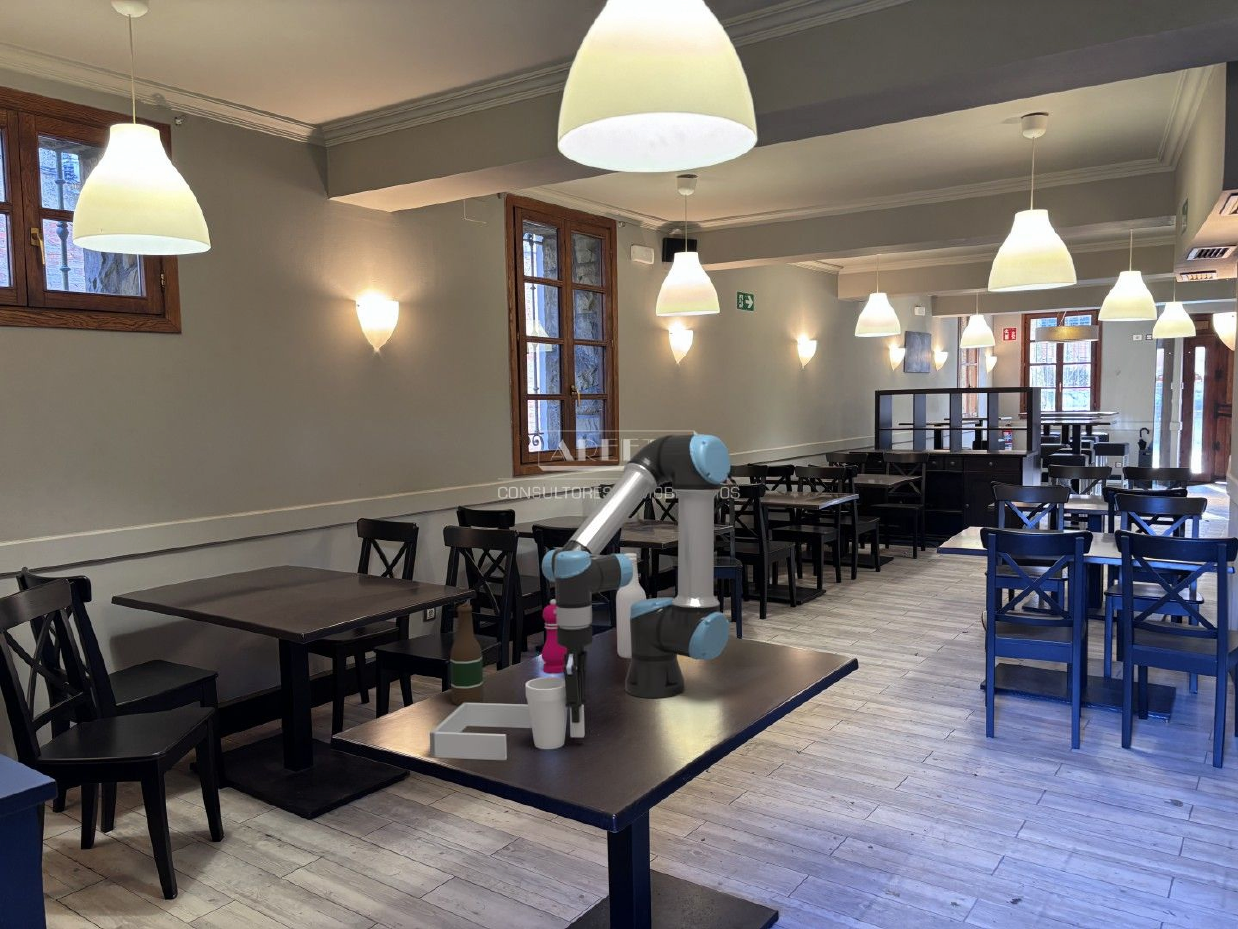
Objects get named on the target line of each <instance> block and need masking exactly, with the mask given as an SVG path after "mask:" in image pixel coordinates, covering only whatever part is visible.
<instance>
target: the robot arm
mask: <svg viewBox="0 0 1238 929" xmlns="http://www.w3.org/2000/svg"><path fill="white" fill-rule="evenodd" d="M728 450H729V449H728V448H727V446H726V445H725V444H724V442H723V441H722V439H720V438H719V437H717V436H715V435H711V434H701V433H700V434H698V433H697V434H680V435H679V434H676V435H673V434H667V435H663V436H660V437H658V438H655V439H653V440H652V441H651V442H649V443H648V444H646V445H645V446H643V447H642V448H641V449H640V450H639V451H638V452H636V453H635V454H634V455H633V456H632V457H631V458H630V460H629V461H628V462H627V463H626V464H625V466H624V467H623V475H622V476H620V478H619V479H618V480H617V482H616V483H615V484H614V485H613V486H612V487H611V489H610V490H609V491H608V492H607V494H605V496H604V497H603V498H602V500H601V501H600V502H599V503H598V504H597V506H596V507H595V508H594V509H593V510H592V511H591V513H590V514H589V516H588V517H587V518H586V519H585V520H584V521H583V523H582V524H581V525H580V526H579V528H577V529H576V531H575V532H574V534H573V535H572V536H571V537H570V538H569V540H568V541H567V542H566V543H565V544H564V546H562V548H561V549H559V548H557V549H552V550H549V551H548V552H546V554H544V556H543V558H542V562H541V570H542V574H543V576H544V577H545V578H546V579H547V580H548V581H549V582H553V583H554V592H555V600H556V609H555V610H554V611H553V612H554V614H557V616H556V622H557V624H558V625H559V626H558V627H557V629H556V630H557V643H558V645H560V646H564V647H566V649H567V650H566V654H564V663H565V664H566V665H563V672H562V673H563V675H564V678H565V687H566V698H567V704H566V707H568V708H569V725H570V726H569V728H570V729H569V730H570V734H569V735H570V738H584V737H585V731H586V730H585V712H584V711H585V707H584V706H585V705H586V704H588V699H585V698H586V697H587V695H586V693H587V692H586V690H587V684H586V683H587V681H586V680H587V658H588V656H587V655H588V652H587V650H584V649H585V648H584V647H587V646H589V645H591V644H592V643H593V626H592V625H591V624H592V622H593V608H592V607H593V606H592V605H593V604H592V594H597V593H602V592H607V591H610V590H619V588H621V587H624V586H626V585H628V584H629V583H630V582H631V580H632V577H633V566H632V563H631V561H630V559H629V558H628V557H627V556H625V555H624V554H625V553H610V554H606V555H605V554H600V553H601V552H602V551H603V550H604V548H605V547H607V545H608V544H609V542H611V539H613V537H614V536H615V535H616V533H617V532H618V531H619V530H620V528H621V527H622V526H623V524H624V523H625V522H626V521H627V519H628V518H629V517H630V516H631V515H632V514H633V512H634V511H635V510H636V509H637V507H638V506H639V504H640V503H641V502H642V501H643V499H645V497H646V496H647V494H653V493H654V492H655V491H656V490H657V488H658V487H659V486H660V485H662V484H666V483H671V484H672V485H671V486H672V488H671V489H672V491H673V493H674V494H675V495H676V496H677V497H678V510H677V511H678V518H677V519H678V525H677V526H678V530H677V531H678V532H677V534H678V535H677V536H678V538H677V541H678V543H677V545H678V546H677V547H678V549H677V550H678V551H677V552H678V553H677V554H678V555H677V556H678V557H677V560H678V561H677V568H678V569H677V596H676V597H675V598H674V597H669V596H668V597H656V598H653V597H652V598H648V599H647V598H646V600H641V601H637V602H635V603H633V604H632V606H631V612H630V633H631V658H630V659H631V661H630V664H629V667H628V670H627V674H626V677H625V681H624V683H625V686H624V687H625V689H624V690H625V692H626V693H628V694H629V695H631V696H634V697H639V698H647V699H649V698H650V699H659V698H668V697H674V696H677V695H680V694H681V693H683V692H684V691H685V689H686V688H685V678H684V675H683V673H682V670H681V667H680V666H681V665H680V663H679V661H678V656H682V657H686V658H687V657H688V658H691V659H693V660H704V661H711V660H713V659H715V658H717V657H718V656H719V655H721V653H722V652H723V651H724V649H725V647H726V646H727V644H728V641H729V637H730V630H731V628H730V627H731V626H730V621H729V620H728V618H727V615H725V614H723V613H722V612H721V611H720V609H721V608H720V606H721V605H720V601H719V600H718V598H716V597H715V596H714V569H715V568H714V565H715V564H714V561H715V560H714V558H715V556H714V550H715V549H714V548H715V547H714V542H715V540H714V538H715V536H714V534H715V533H714V532H715V531H714V529H715V528H714V527H715V526H714V523H715V522H714V521H715V515H714V514H715V513H714V512H715V497H716V496H717V494H718V493H719V492H720V491H721V484H722V483H723V482H725V481H726V480H727V479H728V475H729V474H730V472H731V464H732V463H731V457H730V454H729V451H728ZM584 704H585V705H584Z"/></svg>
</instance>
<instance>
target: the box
mask: <svg viewBox="0 0 1238 929" xmlns="http://www.w3.org/2000/svg"><path fill="white" fill-rule="evenodd" d="M467 727H491V728H516V729H522V728H523V729H532V726H531V720H530V713H529V707H528V704H522V703H521V704H520V703H517V704H515V703H489V702H488V703H486V702H485V703H484V702H480V703H463V704H462V705H461V706H458V707H457V708H456V709H455V710H454V711H453V712H452V713H450V714H449V715H448V716H447V717H446V718H445V719H444V720H443V721H441V723H439V724H438V725H437V726H436V727H435V728H434V729H433V730H431V731H430V733H429V749H430V753H429V754H430V758H439V759H460V760H461V759H462V760H463V759H464V760H465V759H466V760H488V761H506V760H507V759H508V753H507V752H508V751H507V734H504V733H502V734H501V733H483V732H481V733H479V732H463V730H465V729H466V728H467Z"/></svg>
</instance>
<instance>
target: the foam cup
mask: <svg viewBox="0 0 1238 929" xmlns="http://www.w3.org/2000/svg"><path fill="white" fill-rule="evenodd" d="M525 698H526V700H527V701H526V702H527V705H528V707H529V713H530V720H531V726H532V727H531V731H532V736H533V738H532V739H533V743H534V746H535V747H536V748H538V749H540V750H554V749H558V748H561V747H563V746H564V745H565V740H566V730H567V720H568V719H567V718H568V711H569V710H568V709H569V707H566V704H567V698H566V687H565V677H559V676H558V677H557V676H545V677H537V678H533V679H530V680H528V681H526V682H525Z"/></svg>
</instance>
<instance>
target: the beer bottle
mask: <svg viewBox="0 0 1238 929" xmlns="http://www.w3.org/2000/svg"><path fill="white" fill-rule="evenodd" d="M456 611H457V613H458V614H457V634H456V639H455V641H454V643H453V644H452V646H451V650H450V655H449V656H450V658H449V660H450V665H449V666H450V686H451V702H452V704H454V705H455V706H458V707H459V706H461V705H462V704H463V703H482V701H483V700H484V673H483V670H484V669H483V652H482V648H481V645H480V643H479V642H478V640H477V638H476V637H475V633H474V625H473V614H472V611H473V606H472V605H470V604H461V605H459V606H457V608H456Z"/></svg>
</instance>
